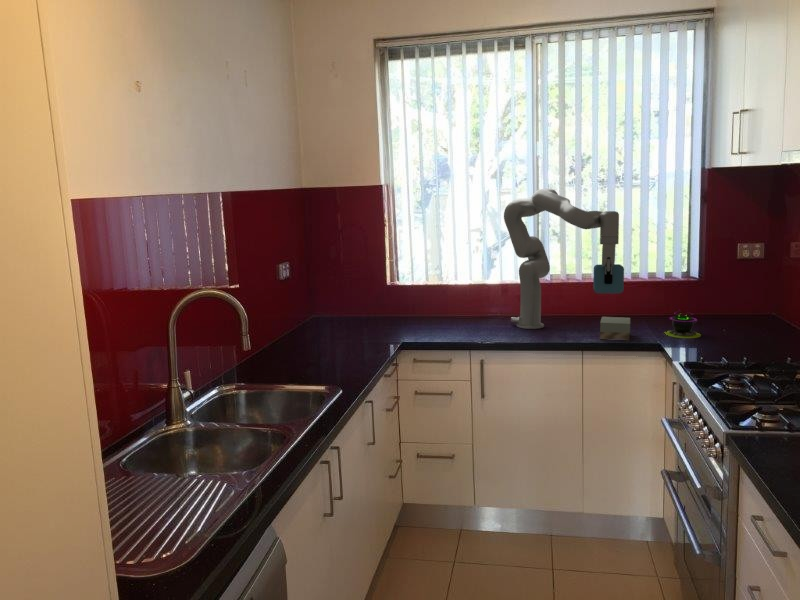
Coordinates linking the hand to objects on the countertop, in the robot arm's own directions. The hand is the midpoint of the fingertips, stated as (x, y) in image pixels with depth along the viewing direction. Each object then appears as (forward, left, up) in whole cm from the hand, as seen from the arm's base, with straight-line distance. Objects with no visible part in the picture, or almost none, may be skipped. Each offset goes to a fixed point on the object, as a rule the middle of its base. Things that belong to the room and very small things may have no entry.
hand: (608, 282), depth 285 cm
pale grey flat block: (+3, 0, -20) cm, 21 cm away
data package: (0, 0, -5) cm, 5 cm away
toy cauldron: (+32, +12, -24) cm, 42 cm away
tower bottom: (+3, 0, -24) cm, 25 cm away
